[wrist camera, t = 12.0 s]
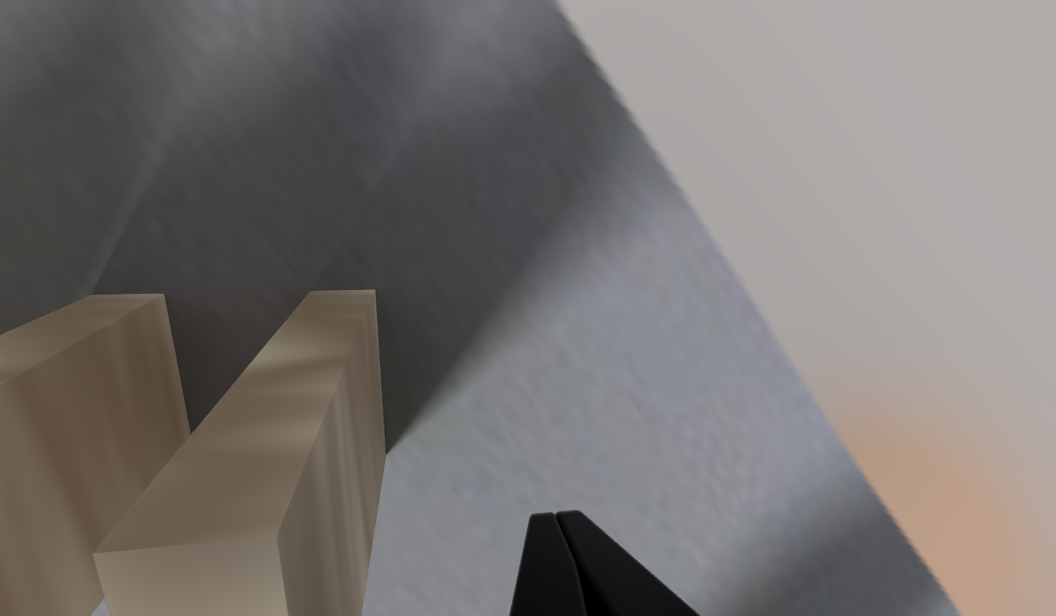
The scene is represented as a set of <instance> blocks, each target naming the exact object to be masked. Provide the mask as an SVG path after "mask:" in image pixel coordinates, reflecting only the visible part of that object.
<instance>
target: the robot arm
mask: <svg viewBox="0 0 1056 616" xmlns="http://www.w3.org/2000/svg"><path fill="white" fill-rule="evenodd" d="M509 616H700V615H699V614H698V613H697V612H695V611H694V610H693V609H692V608H691V607H690V606H689V605H687V604H686V603H685V602H684V601H683V600H682V599H681V598H679V597H678V596H677V595H676V594H675V593H674V592H673V591H671V590H670V589H669V588H668V587H667V586H666V585H665V584H663V583H662V582H661V581H660V580H659V579H658V578H656V577H655V576H654V575H653V574H652V573H651V572H650V571H648V570H647V569H646V568H645V567H644V566H643V565H642V564H640V563H639V562H638V561H637V560H636V559H635V558H634V557H632V556H631V555H630V554H629V553H628V552H627V551H626V550H624V549H623V548H622V547H621V546H620V545H619V544H618V543H616V542H615V541H614V540H613V539H612V538H611V537H610V536H608V535H607V534H606V533H605V532H604V531H603V530H602V529H600V528H599V527H598V526H597V525H596V524H595V523H594V522H592V521H591V520H590V519H589V518H588V517H587V516H586V515H584V514H583V513H582V512H581V511H578V510H570V511H559V512H557V513H556V514H554V513H552V512H548V513H536V514H532V515H531V516H530V518H529V523H528V528H527V533H526V538H525V542H524V547H523V552H522V557H521V562H520V566H519V571H518V576H517V581H516V586H515V591H514V595H513V600H512V605H511V610H510V615H509Z"/></svg>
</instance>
